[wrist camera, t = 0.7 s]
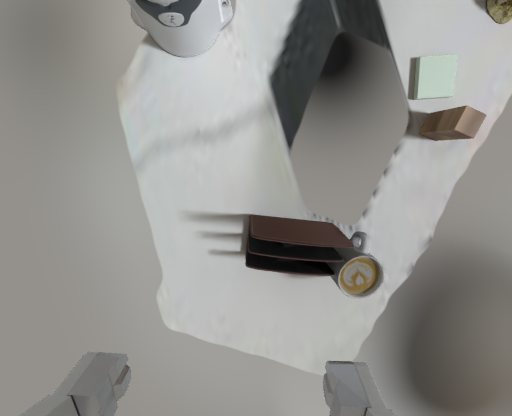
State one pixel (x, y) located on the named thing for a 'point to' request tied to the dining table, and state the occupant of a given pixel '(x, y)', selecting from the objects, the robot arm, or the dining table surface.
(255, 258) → the letter holder
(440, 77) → the sage board
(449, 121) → the walnut block
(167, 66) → the dining table surface
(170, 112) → the dining table surface
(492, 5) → the ceramic model
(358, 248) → the coffee mug
